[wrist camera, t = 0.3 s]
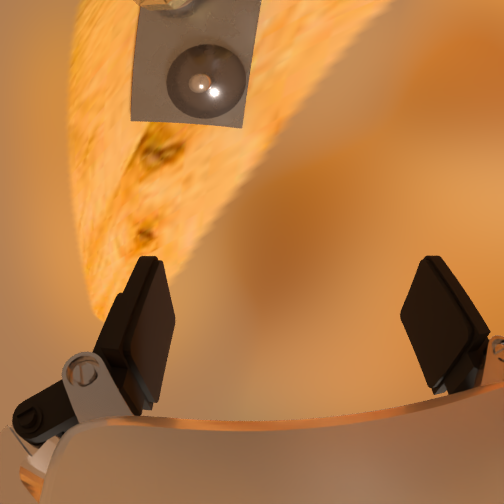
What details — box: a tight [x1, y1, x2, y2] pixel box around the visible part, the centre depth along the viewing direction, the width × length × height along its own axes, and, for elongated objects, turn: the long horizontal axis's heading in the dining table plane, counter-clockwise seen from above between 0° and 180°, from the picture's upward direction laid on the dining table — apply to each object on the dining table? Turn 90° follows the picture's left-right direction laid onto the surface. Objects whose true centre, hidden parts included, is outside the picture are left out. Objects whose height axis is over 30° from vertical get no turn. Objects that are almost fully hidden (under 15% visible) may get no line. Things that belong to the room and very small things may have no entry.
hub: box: [166, 44, 246, 119], centre depth 29 cm, size 9×9×7 cm
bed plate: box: [131, 0, 261, 128], centre depth 28 cm, size 23×14×1 cm, turn 172°
